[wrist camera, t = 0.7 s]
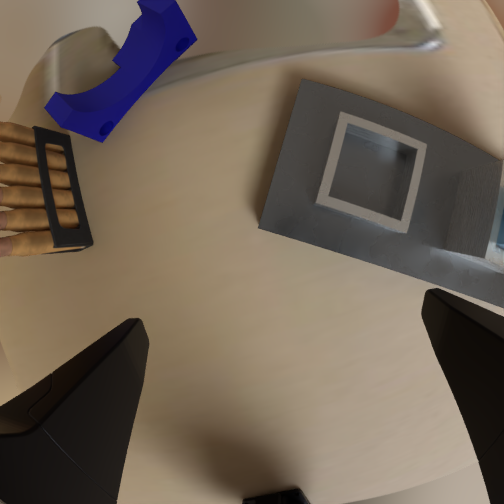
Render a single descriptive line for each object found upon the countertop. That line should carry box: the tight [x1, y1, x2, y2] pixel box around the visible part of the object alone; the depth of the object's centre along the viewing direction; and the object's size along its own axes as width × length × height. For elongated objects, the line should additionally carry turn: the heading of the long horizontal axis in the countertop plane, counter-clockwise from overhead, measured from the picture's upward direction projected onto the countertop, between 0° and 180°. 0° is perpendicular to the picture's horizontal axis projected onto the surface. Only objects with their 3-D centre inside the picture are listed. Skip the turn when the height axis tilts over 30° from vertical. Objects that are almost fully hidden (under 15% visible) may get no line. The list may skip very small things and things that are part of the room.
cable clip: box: [44, 0, 197, 143], centre depth 20 cm, size 12×4×6 cm, turn 137°
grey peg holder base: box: [258, 79, 504, 308], centre depth 17 cm, size 22×11×8 cm, turn 74°
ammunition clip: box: [0, 122, 94, 257], centre depth 18 cm, size 11×2×12 cm, turn 18°
